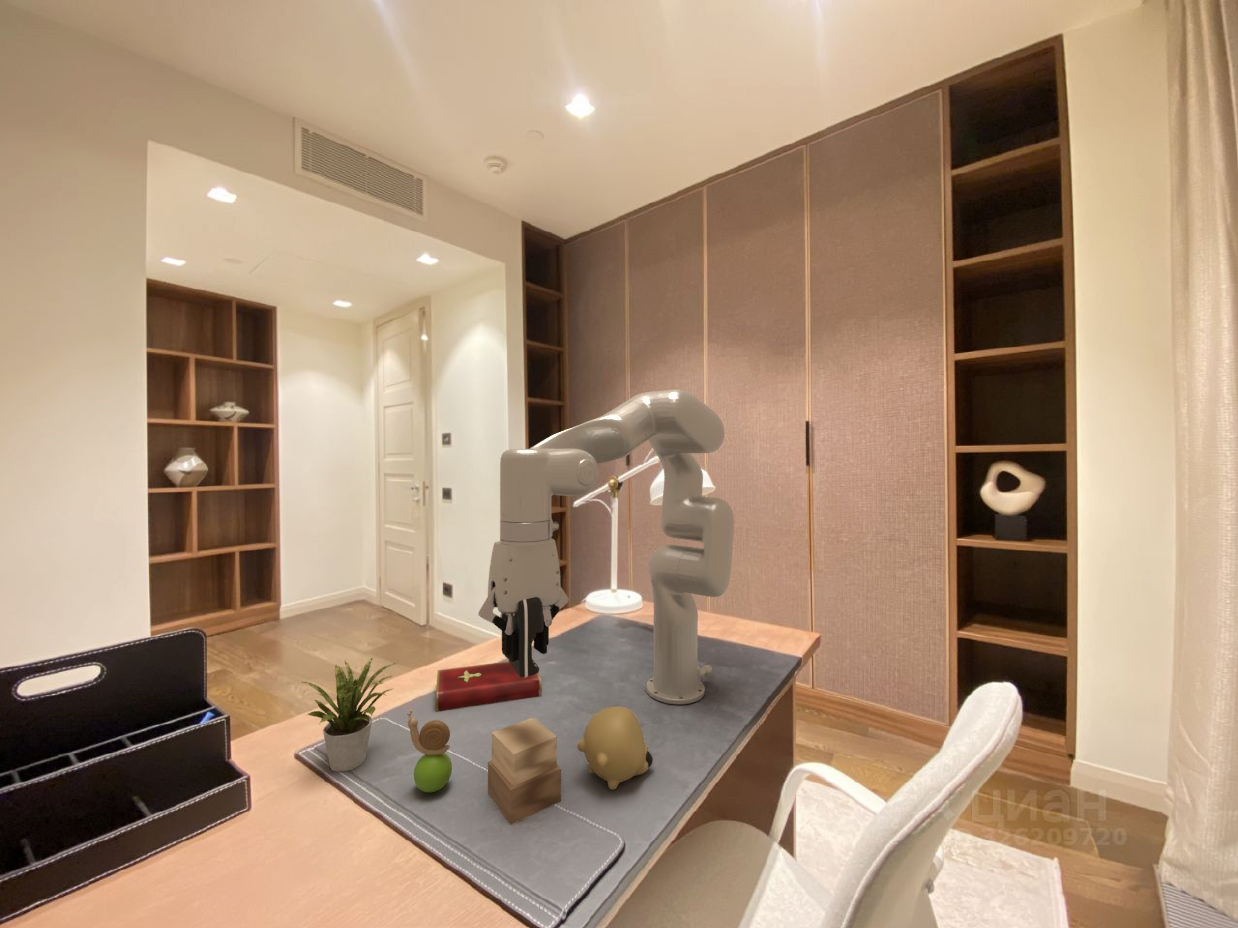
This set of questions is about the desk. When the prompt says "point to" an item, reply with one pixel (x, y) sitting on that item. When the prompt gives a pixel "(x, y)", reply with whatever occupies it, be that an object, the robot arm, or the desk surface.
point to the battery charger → (527, 635)
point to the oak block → (524, 751)
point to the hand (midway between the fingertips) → (525, 653)
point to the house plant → (348, 718)
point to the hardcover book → (483, 686)
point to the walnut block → (524, 793)
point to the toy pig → (615, 746)
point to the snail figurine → (431, 754)
